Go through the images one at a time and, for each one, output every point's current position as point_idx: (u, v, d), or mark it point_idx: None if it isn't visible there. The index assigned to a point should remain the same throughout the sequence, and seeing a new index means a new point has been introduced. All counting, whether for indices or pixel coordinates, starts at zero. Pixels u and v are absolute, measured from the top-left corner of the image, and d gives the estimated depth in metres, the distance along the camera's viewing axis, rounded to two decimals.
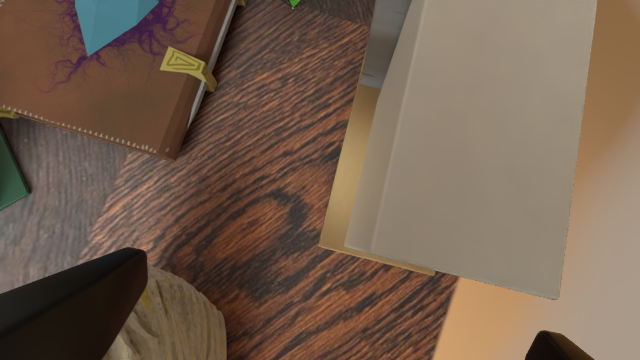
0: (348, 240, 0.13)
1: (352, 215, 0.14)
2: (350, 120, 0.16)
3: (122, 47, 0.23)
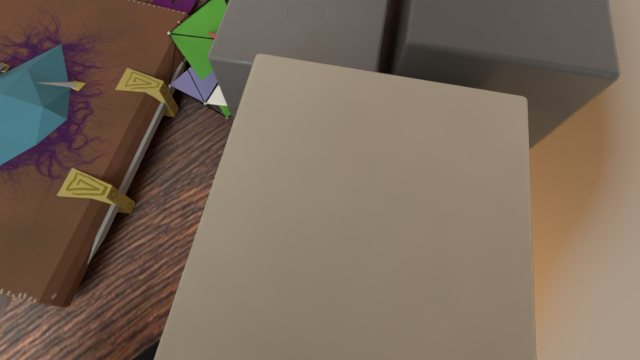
0: None
1: None
2: None
3: (14, 171, 0.20)
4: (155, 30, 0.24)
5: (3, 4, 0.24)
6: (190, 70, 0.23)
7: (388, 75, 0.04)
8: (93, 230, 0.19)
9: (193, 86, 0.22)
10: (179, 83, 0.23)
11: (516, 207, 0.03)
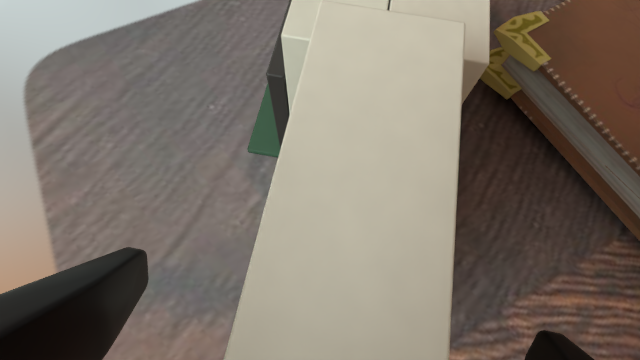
0: None
1: None
2: None
3: None
4: None
5: None
6: None
7: (392, 11, 0.07)
8: None
9: None
10: None
11: (455, 71, 0.07)
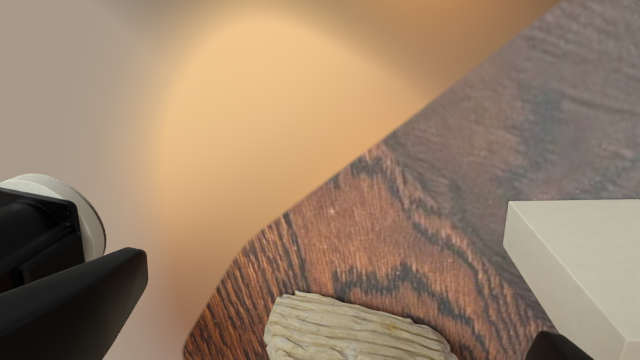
0: (535, 226, 0.17)
1: (544, 213, 0.18)
2: None
3: None
4: None
5: None
6: None
7: None
8: None
9: None
10: None
11: None
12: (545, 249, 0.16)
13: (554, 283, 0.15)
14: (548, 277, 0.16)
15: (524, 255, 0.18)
